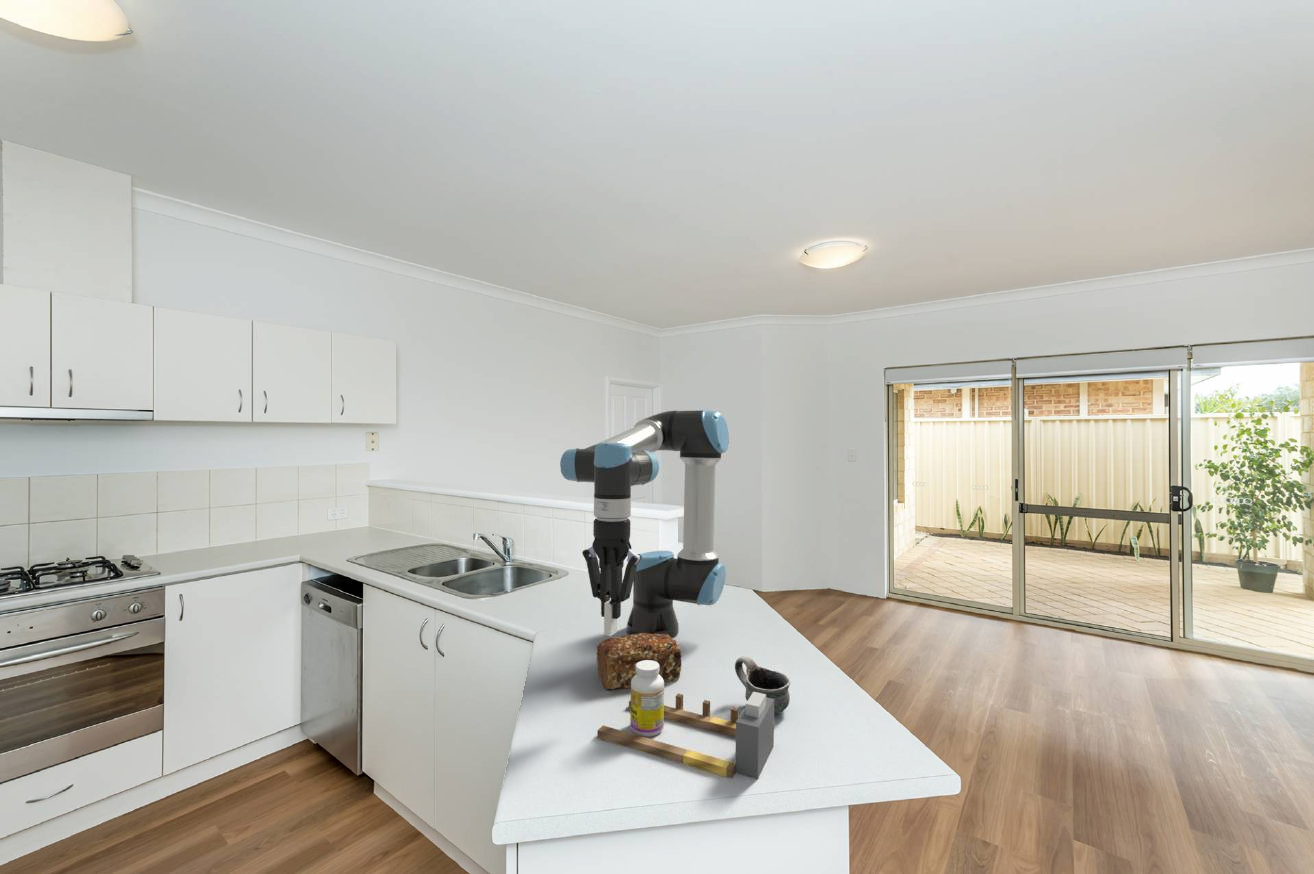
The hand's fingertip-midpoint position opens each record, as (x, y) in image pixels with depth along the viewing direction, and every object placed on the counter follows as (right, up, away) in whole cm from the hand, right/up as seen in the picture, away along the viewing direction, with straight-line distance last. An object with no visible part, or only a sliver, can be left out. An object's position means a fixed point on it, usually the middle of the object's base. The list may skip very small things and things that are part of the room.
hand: (610, 633), depth 113 cm
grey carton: (+27, -18, -13) cm, 35 cm away
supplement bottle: (+7, -18, -3) cm, 20 cm away
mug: (+32, -18, +5) cm, 37 cm away
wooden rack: (+13, -18, -6) cm, 23 cm away
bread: (+5, -18, +19) cm, 27 cm away
